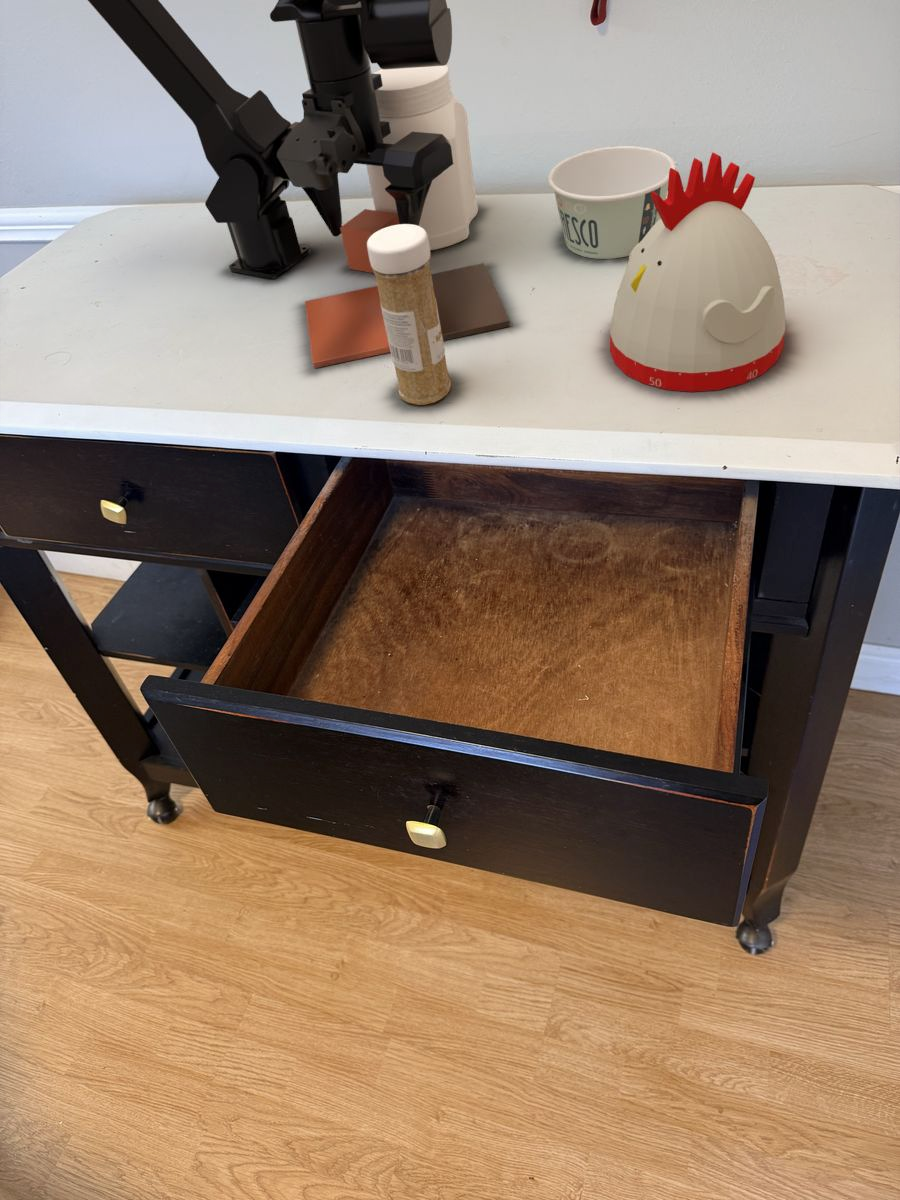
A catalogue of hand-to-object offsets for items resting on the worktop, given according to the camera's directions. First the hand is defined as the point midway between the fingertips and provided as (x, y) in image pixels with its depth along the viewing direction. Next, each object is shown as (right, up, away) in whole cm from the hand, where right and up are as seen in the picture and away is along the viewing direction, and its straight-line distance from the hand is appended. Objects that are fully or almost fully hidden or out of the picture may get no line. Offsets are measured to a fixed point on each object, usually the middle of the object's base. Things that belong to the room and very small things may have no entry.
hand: (373, 240), depth 92 cm
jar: (+6, +4, +6) cm, 9 cm away
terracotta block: (0, -2, +2) cm, 2 cm away
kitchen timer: (+28, -16, -17) cm, 36 cm away
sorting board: (+3, -10, -7) cm, 13 cm away
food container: (+24, -1, -2) cm, 24 cm away
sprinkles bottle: (+6, -19, -16) cm, 26 cm away
